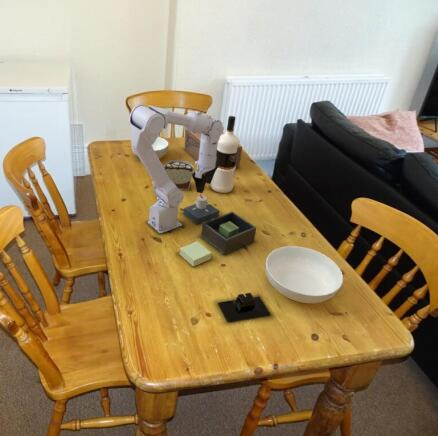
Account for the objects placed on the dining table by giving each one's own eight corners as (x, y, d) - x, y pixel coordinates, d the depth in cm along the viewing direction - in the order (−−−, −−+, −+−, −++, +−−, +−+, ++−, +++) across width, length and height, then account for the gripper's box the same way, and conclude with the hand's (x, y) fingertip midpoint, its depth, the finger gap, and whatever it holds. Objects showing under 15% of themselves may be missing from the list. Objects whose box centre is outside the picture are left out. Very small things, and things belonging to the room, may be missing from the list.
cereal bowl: (147, 168, 178) (148, 153, 175) (123, 155, 188) (123, 141, 185) (175, 157, 188) (176, 143, 184) (150, 146, 198) (151, 132, 194)
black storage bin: (223, 255, 130) (226, 240, 127) (200, 236, 138) (202, 222, 135) (253, 241, 137) (256, 227, 133) (229, 225, 144) (232, 211, 141)
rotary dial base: (197, 224, 144) (197, 218, 142) (180, 211, 150) (181, 205, 149) (218, 216, 149) (219, 210, 147) (201, 204, 155) (202, 198, 154)
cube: (227, 243, 134) (229, 232, 132) (218, 236, 137) (219, 225, 135) (237, 238, 136) (239, 227, 134) (227, 232, 139) (229, 221, 137)
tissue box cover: (238, 167, 182) (242, 146, 176) (209, 172, 177) (212, 151, 172) (211, 145, 202) (213, 125, 196) (184, 148, 197) (186, 128, 192)
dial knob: (207, 208, 148) (208, 199, 146) (198, 209, 147) (199, 200, 145) (203, 203, 151) (204, 194, 149) (194, 204, 150) (195, 195, 148)
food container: (192, 182, 169) (195, 160, 163) (192, 190, 164) (195, 167, 158) (162, 180, 170) (164, 158, 164) (161, 187, 165) (163, 165, 159)
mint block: (193, 266, 125) (194, 260, 124) (179, 254, 130) (180, 248, 128) (210, 259, 128) (211, 252, 127) (196, 247, 133) (197, 241, 132)
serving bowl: (247, 271, 124) (251, 253, 120) (304, 257, 130) (310, 240, 126) (290, 321, 108) (296, 302, 104) (352, 302, 114) (360, 284, 110)
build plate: (258, 297, 115) (262, 285, 113) (271, 316, 109) (274, 304, 107) (217, 303, 112) (219, 291, 110) (227, 323, 107) (230, 311, 104)
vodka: (213, 180, 171) (222, 110, 154) (235, 185, 168) (247, 114, 151) (207, 190, 164) (216, 118, 147) (230, 196, 161) (242, 122, 144)
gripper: (204, 142, 144) (201, 176, 152) (188, 157, 133) (185, 193, 141) (223, 146, 141) (219, 181, 149) (208, 162, 131) (204, 199, 138)
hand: (203, 187), depth 145 cm, fingers open, 7 cm apart
